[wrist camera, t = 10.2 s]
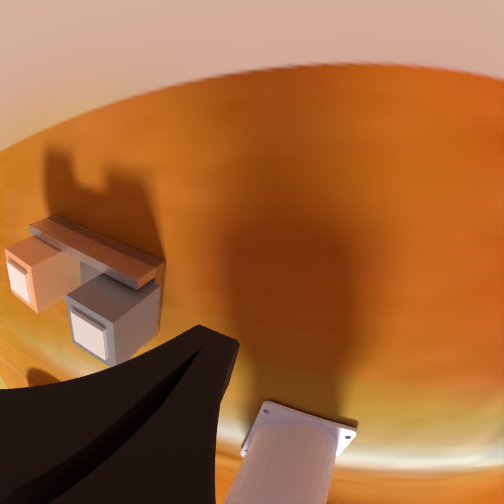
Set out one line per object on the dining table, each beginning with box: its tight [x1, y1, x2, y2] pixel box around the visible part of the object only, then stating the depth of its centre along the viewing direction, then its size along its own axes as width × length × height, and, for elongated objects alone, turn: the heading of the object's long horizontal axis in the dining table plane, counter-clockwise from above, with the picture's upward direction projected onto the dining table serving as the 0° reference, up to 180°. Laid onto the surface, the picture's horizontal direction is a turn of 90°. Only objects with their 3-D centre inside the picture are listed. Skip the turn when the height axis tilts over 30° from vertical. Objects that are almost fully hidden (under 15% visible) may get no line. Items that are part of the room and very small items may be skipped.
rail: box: [29, 215, 165, 347], centre depth 22 cm, size 6×12×3 cm, turn 76°
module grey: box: [66, 273, 161, 367], centre depth 19 cm, size 4×4×5 cm
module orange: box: [5, 236, 81, 314], centre depth 20 cm, size 4×4×5 cm
